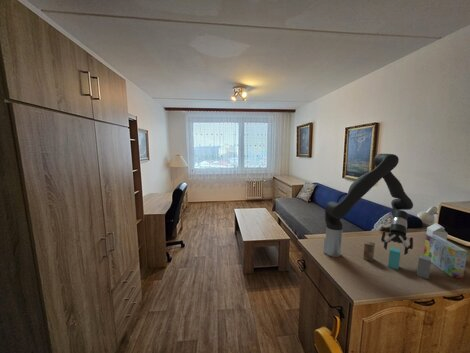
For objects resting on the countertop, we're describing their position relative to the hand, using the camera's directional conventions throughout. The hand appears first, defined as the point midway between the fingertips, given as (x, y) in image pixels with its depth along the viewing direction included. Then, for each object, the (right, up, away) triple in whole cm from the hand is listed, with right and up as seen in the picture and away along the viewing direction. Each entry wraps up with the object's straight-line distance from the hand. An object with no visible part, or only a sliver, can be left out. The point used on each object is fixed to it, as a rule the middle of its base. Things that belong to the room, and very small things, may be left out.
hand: (395, 251), depth 113 cm
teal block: (-2, -8, -1) cm, 8 cm away
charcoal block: (+7, -9, -9) cm, 15 cm away
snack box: (+25, -8, -1) cm, 27 cm away
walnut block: (-10, -7, +7) cm, 15 cm away
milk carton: (+37, -6, +15) cm, 41 cm away
